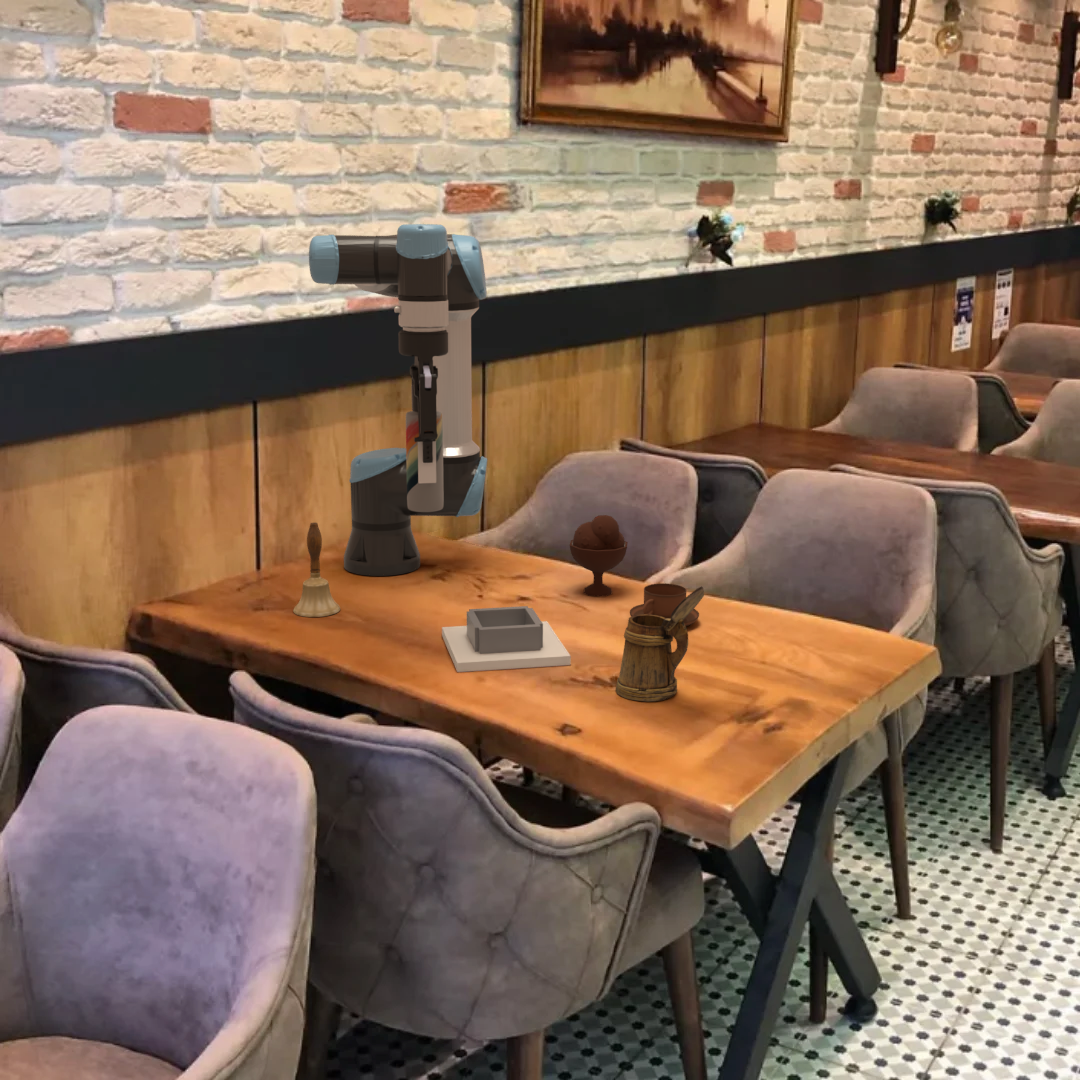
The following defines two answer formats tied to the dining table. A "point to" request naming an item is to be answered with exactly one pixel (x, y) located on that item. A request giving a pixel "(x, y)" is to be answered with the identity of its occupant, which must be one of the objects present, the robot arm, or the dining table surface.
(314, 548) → the hand bell
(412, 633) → the dining table surface
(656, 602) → the cup and saucer
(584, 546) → the ice cream bowl
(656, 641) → the wooden mug
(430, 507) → the lotion bottle
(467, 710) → the dining table surface
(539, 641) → the bottle holder
